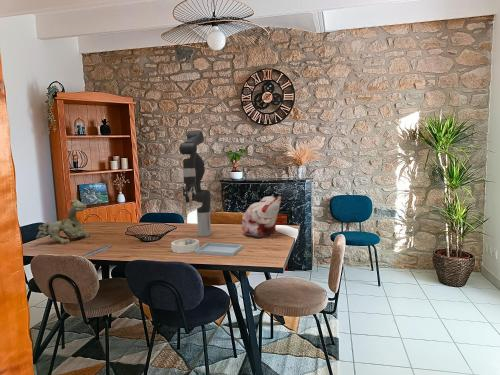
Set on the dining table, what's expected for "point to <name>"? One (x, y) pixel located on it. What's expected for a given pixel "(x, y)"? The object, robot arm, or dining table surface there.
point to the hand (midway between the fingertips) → (190, 201)
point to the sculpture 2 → (261, 217)
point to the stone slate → (188, 241)
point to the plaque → (97, 251)
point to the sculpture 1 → (65, 226)
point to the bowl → (184, 246)
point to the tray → (219, 249)
